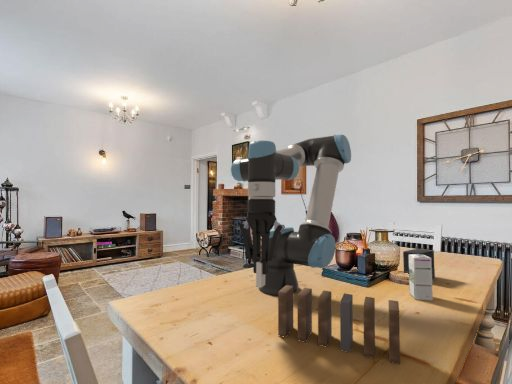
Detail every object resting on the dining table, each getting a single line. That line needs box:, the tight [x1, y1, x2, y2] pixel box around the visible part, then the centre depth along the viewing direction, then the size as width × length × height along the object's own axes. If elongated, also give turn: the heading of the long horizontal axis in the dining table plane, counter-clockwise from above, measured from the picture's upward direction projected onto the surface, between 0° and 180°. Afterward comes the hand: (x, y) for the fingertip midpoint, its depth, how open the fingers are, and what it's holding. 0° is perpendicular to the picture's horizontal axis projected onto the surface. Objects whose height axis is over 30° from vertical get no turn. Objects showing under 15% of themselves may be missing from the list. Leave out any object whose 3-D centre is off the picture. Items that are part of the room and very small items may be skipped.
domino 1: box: [277, 285, 294, 338], centre depth 71 cm, size 2×6×11 cm, turn 154°
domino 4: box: [339, 292, 354, 353], centre depth 65 cm, size 2×6×11 cm, turn 154°
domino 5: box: [363, 296, 376, 359], centre depth 62 cm, size 2×6×11 cm, turn 154°
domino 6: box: [388, 299, 401, 365], centre depth 60 cm, size 2×6×11 cm, turn 154°
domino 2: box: [297, 287, 313, 343], centre depth 69 cm, size 2×6×11 cm, turn 154°
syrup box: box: [408, 254, 434, 302], centre depth 96 cm, size 6×6×14 cm
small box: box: [402, 248, 436, 279], centre depth 119 cm, size 13×7×12 cm, turn 123°
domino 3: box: [317, 290, 333, 348], centre depth 67 cm, size 2×6×11 cm, turn 154°
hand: (260, 285), depth 74 cm, fingers closed
